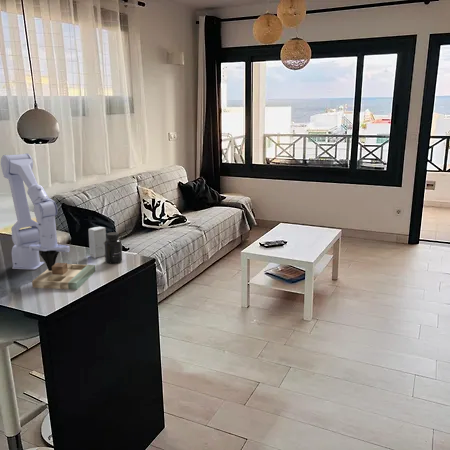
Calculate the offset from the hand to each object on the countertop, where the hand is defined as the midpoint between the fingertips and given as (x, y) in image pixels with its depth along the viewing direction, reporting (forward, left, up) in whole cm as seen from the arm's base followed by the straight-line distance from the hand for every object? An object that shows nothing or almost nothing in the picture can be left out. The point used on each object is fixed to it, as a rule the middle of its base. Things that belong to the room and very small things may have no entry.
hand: (51, 269), depth 165 cm
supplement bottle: (+17, +21, -4) cm, 27 cm away
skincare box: (+8, +28, -4) cm, 29 cm away
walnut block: (+3, 0, -1) cm, 3 cm away
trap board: (+5, 0, -3) cm, 6 cm away
